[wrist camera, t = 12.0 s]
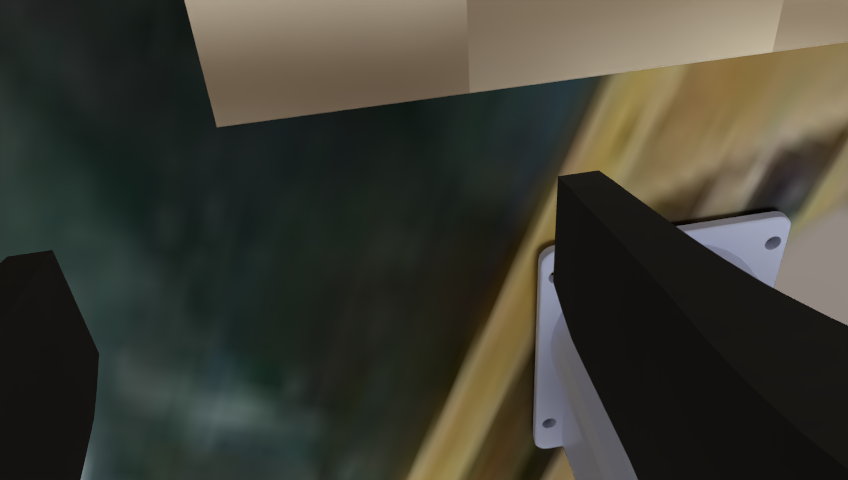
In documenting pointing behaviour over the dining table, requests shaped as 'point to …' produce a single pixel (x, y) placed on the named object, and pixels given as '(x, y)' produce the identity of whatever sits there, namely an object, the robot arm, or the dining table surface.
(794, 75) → the dining table surface
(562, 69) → the dock
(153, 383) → the dining table surface
